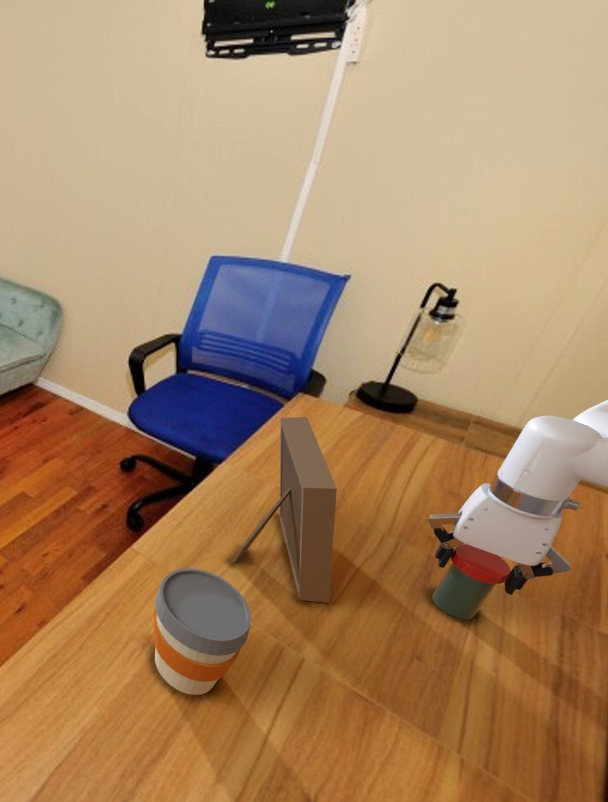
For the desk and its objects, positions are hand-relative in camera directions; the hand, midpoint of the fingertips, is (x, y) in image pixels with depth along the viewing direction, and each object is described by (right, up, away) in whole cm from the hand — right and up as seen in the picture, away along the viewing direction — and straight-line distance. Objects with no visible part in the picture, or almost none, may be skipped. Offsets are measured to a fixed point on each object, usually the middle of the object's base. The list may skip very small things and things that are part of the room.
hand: (473, 574), depth 84 cm
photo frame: (-25, -1, +15) cm, 29 cm away
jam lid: (0, +3, -1) cm, 3 cm away
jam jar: (0, -7, +4) cm, 8 cm away
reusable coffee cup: (-51, -13, -5) cm, 52 cm away
